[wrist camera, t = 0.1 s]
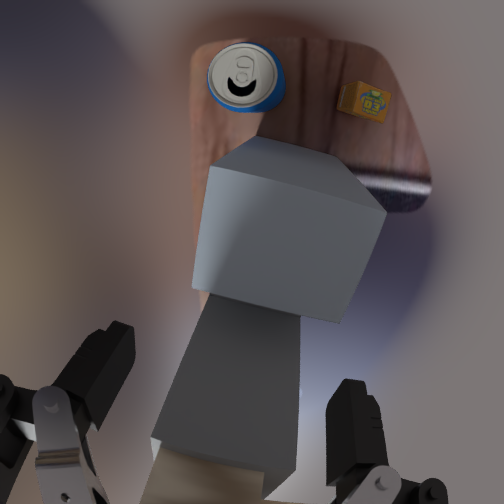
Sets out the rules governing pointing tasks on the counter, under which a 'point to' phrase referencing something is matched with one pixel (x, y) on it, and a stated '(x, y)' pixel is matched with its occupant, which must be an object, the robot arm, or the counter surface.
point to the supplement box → (364, 101)
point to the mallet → (201, 482)
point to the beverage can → (246, 78)
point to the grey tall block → (285, 229)
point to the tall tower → (237, 391)
